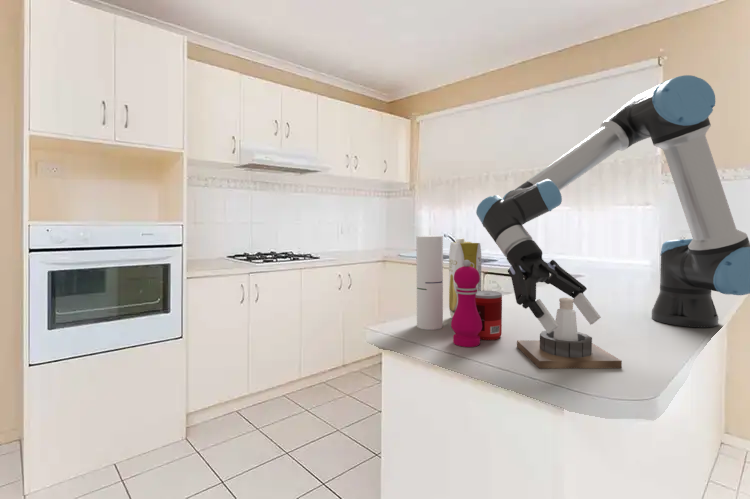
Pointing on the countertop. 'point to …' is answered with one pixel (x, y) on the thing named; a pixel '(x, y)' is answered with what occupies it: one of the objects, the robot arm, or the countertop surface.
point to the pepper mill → (466, 307)
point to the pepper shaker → (566, 321)
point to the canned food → (490, 314)
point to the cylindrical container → (429, 282)
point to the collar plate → (565, 361)
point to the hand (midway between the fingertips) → (575, 325)
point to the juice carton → (456, 258)
